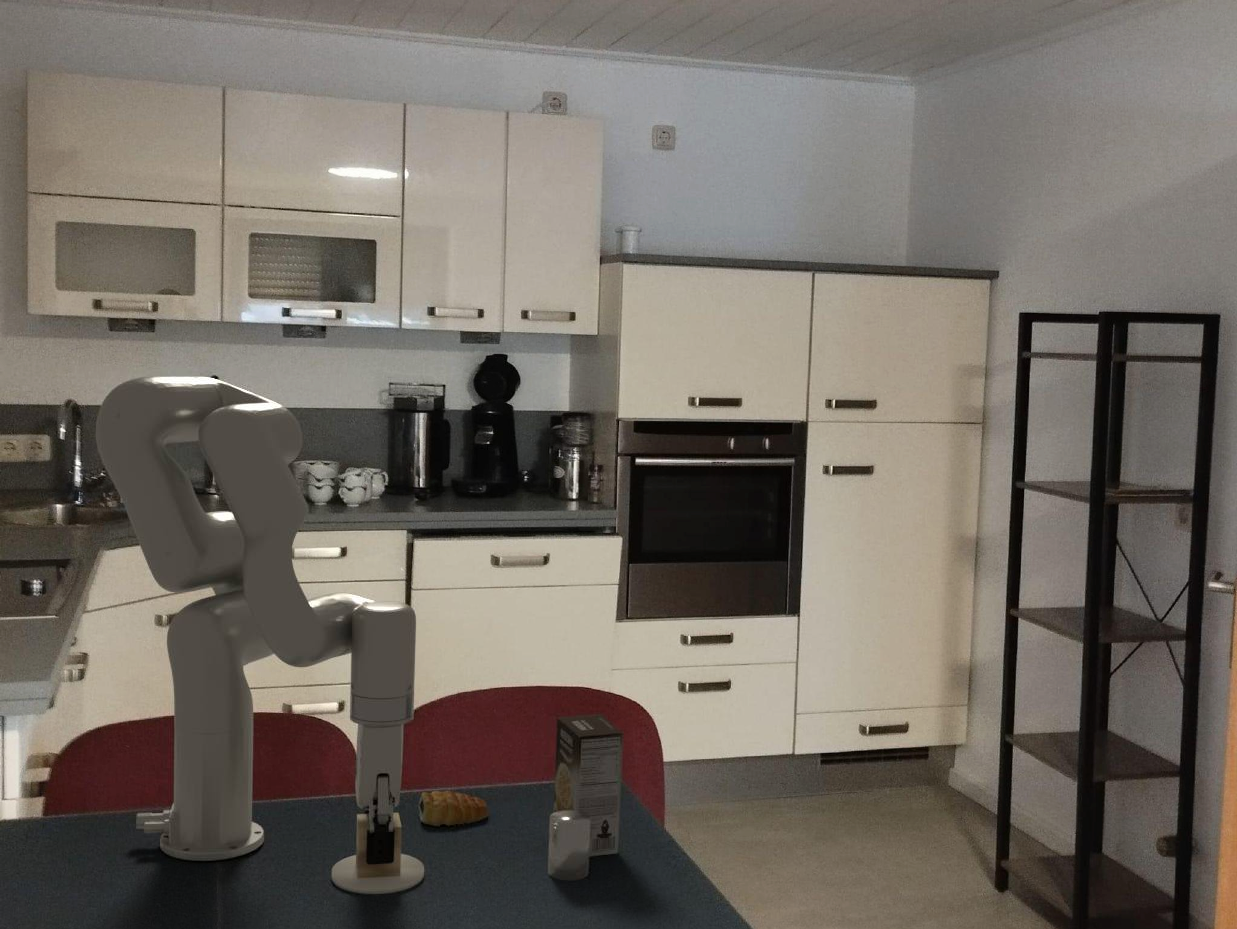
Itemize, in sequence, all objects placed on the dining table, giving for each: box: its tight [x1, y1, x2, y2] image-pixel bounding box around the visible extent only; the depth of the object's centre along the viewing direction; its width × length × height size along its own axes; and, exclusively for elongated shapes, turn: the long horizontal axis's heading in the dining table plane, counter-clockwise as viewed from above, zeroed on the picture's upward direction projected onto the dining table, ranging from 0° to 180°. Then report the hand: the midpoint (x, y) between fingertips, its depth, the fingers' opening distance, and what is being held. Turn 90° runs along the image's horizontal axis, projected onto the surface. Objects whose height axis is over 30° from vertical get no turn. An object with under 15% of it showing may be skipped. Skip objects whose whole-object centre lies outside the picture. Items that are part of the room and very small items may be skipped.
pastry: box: [418, 790, 489, 827], centre depth 182 cm, size 9×7×4 cm
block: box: [355, 812, 402, 878], centre depth 161 cm, size 5×5×6 cm
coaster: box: [331, 853, 425, 895], centre depth 162 cm, size 11×11×1 cm
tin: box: [547, 810, 591, 882], centre depth 165 cm, size 5×5×7 cm
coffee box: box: [553, 713, 624, 858], centre depth 174 cm, size 9×6×16 cm
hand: (378, 851), depth 161 cm, fingers open, 6 cm apart
